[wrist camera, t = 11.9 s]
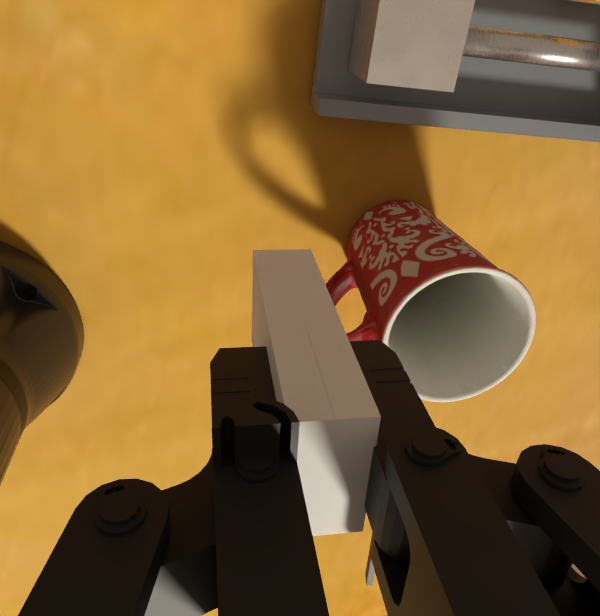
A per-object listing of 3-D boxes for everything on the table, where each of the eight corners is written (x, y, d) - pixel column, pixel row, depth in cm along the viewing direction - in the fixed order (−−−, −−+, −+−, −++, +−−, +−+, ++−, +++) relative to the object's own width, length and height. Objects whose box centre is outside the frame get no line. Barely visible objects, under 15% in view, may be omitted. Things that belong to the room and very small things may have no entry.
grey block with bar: (347, 70, 34) (366, 83, 30) (367, -65, 31) (391, -72, 27) (628, 101, 38) (681, 116, 33) (674, -19, 34) (739, -19, 30)
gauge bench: (310, 104, 37) (340, 144, 28) (331, -78, 32) (376, -101, 23) (657, 138, 41) (780, 182, 32) (722, -18, 36) (889, -18, 27)
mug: (448, 173, 41) (541, 250, 29) (453, 281, 45) (535, 384, 34) (278, 212, 40) (303, 304, 29) (301, 316, 45) (330, 432, 33)
